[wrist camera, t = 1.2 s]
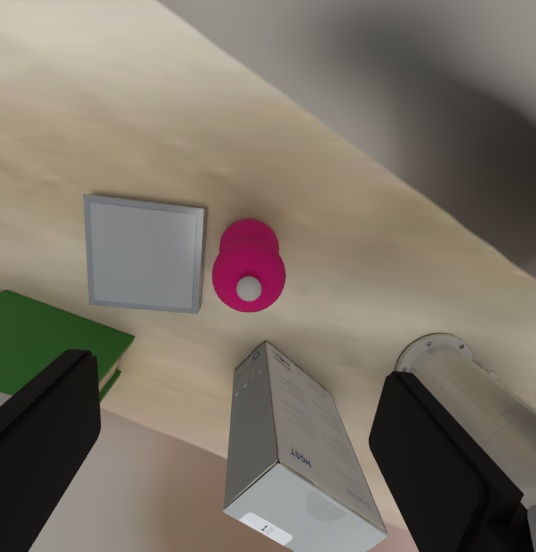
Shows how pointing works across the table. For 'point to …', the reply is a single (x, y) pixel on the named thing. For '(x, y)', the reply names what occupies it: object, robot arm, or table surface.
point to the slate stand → (144, 253)
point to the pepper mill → (248, 267)
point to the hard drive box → (295, 462)
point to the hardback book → (51, 342)
